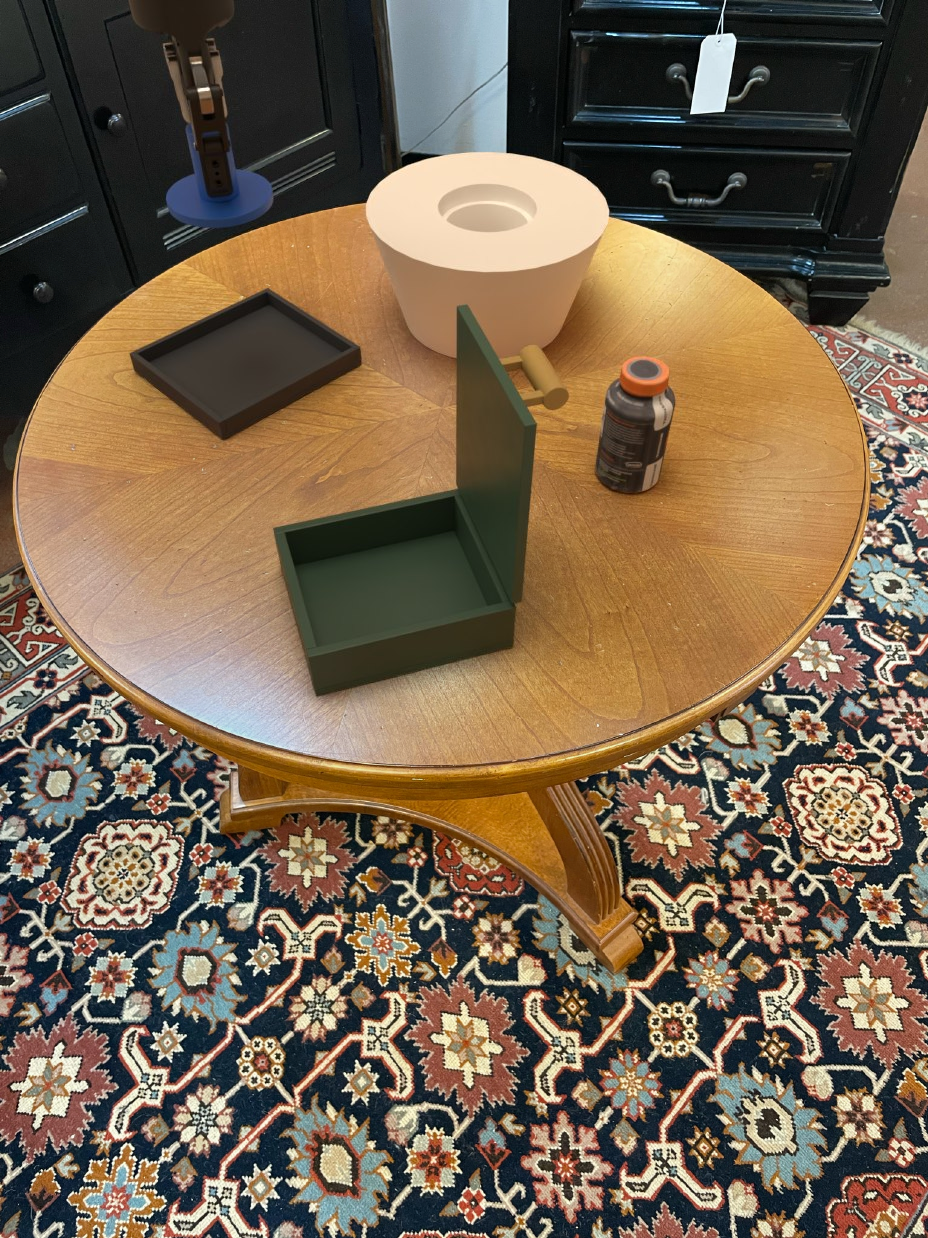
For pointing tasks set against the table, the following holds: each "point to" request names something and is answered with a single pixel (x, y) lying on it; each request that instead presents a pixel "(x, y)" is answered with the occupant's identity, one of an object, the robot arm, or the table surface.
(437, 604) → the green chest
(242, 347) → the tray
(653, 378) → the pill bottle
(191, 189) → the blue lid
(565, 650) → the table surface
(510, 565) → the chest lid
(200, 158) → the robot arm
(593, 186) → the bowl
